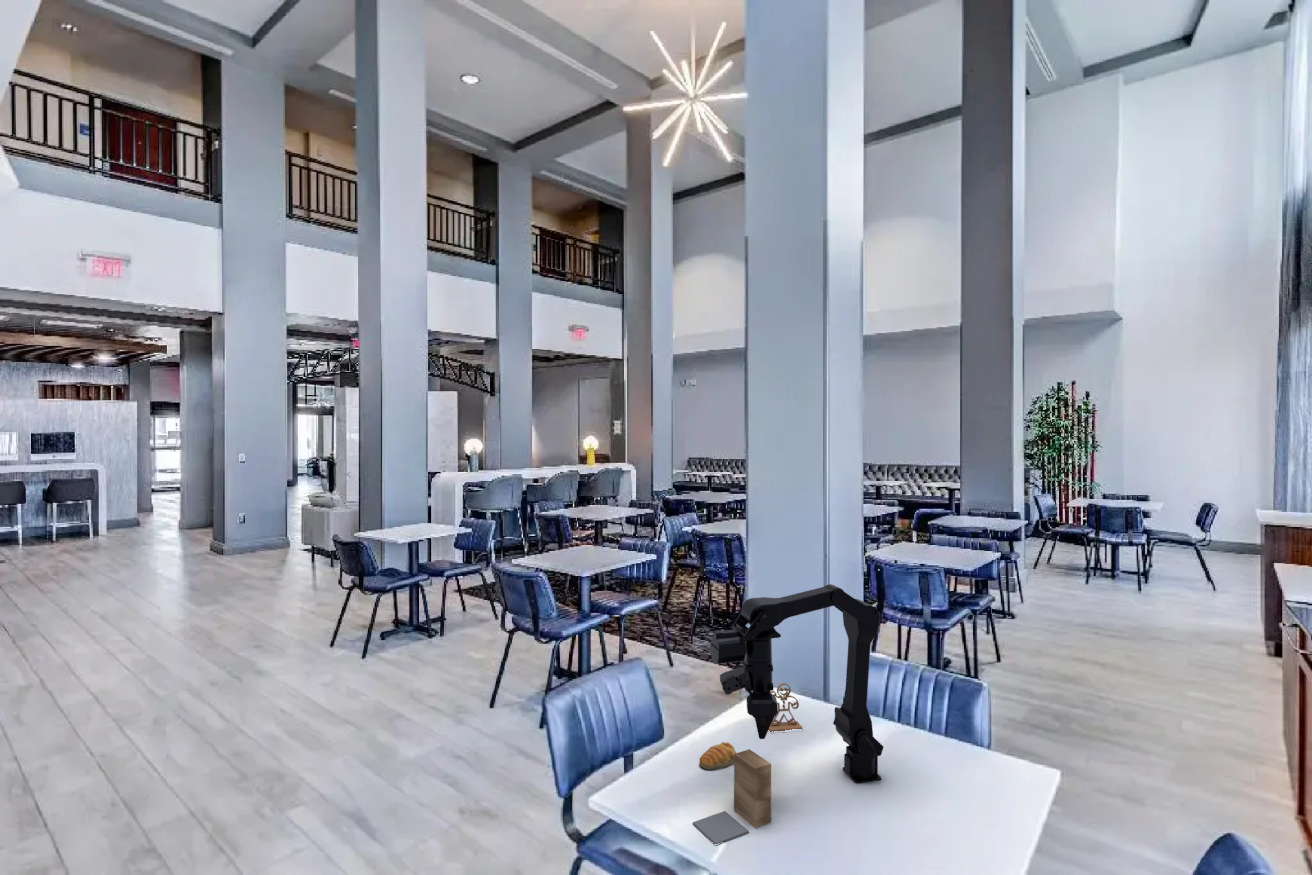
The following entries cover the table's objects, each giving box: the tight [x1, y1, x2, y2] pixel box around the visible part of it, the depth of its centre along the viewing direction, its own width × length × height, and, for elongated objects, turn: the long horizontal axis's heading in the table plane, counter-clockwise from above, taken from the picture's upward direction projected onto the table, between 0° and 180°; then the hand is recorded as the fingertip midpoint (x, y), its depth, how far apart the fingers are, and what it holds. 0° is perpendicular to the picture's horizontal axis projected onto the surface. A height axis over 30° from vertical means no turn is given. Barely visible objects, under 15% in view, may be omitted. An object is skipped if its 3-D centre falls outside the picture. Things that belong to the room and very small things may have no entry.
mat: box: [692, 810, 750, 845], centre depth 134 cm, size 8×8×1 cm
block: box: [733, 748, 772, 830], centre depth 138 cm, size 4×7×12 cm, turn 30°
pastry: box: [699, 741, 737, 771], centre depth 161 cm, size 9×7×4 cm
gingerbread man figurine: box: [768, 682, 803, 732], centre depth 178 cm, size 9×4×12 cm, turn 99°
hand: (760, 728), depth 148 cm, fingers open, 9 cm apart
